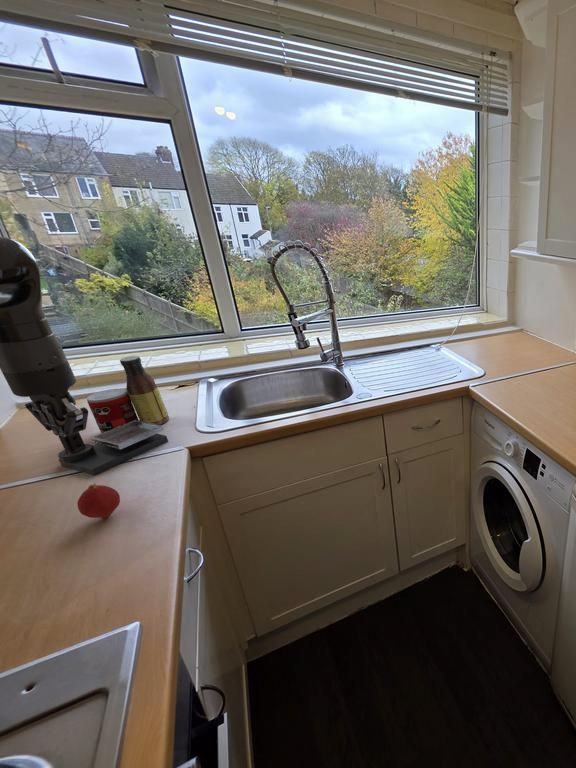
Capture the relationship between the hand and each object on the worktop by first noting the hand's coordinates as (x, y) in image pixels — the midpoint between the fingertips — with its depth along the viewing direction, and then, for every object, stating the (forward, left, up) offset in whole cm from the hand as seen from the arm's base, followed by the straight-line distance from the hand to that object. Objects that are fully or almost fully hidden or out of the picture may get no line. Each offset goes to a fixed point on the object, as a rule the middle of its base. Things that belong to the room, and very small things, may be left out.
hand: (76, 451), depth 75 cm
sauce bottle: (+30, +32, -15) cm, 46 cm away
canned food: (+24, +36, -15) cm, 46 cm away
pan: (+19, +23, -12) cm, 32 cm away
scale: (+16, +24, -15) cm, 32 cm away
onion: (0, 0, -15) cm, 15 cm away
